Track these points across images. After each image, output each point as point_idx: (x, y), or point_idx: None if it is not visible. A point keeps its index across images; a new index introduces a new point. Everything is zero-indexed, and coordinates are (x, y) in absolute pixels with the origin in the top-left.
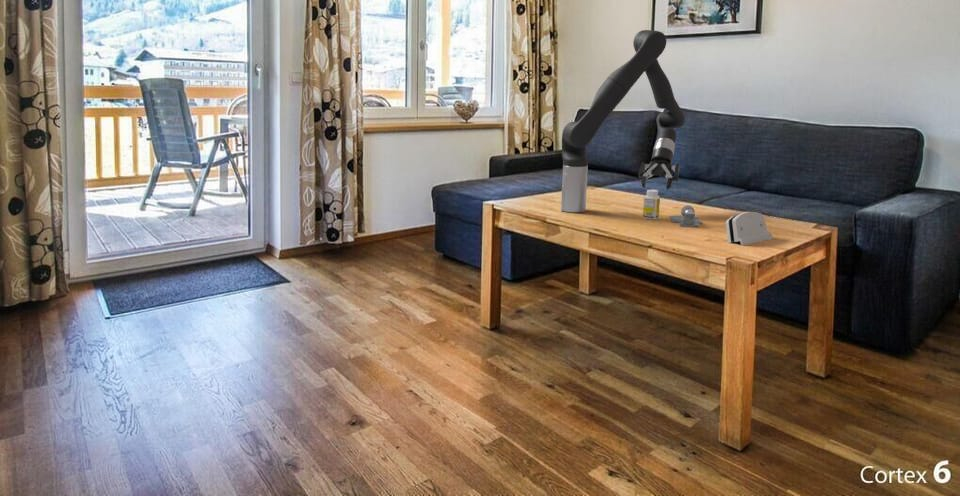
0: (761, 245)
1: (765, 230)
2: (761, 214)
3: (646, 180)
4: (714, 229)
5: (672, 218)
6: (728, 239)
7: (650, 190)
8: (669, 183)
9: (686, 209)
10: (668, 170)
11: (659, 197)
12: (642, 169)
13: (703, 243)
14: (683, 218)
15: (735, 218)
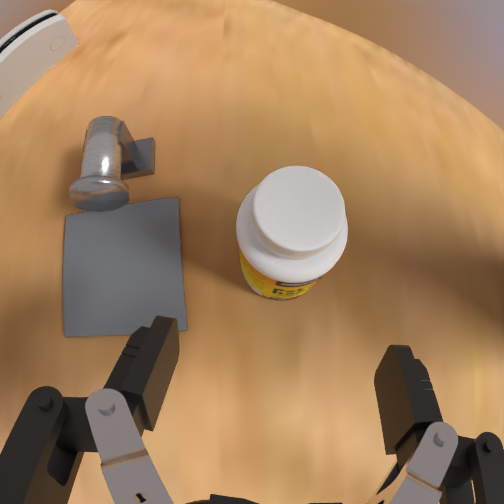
0: None
1: None
2: None
3: (391, 435)
4: (55, 147)
5: (173, 265)
6: (76, 39)
7: (316, 203)
8: (140, 349)
9: (105, 153)
10: (111, 487)
11: (239, 210)
12: (489, 501)
13: (136, 17)
14: (123, 281)
15: (47, 10)
